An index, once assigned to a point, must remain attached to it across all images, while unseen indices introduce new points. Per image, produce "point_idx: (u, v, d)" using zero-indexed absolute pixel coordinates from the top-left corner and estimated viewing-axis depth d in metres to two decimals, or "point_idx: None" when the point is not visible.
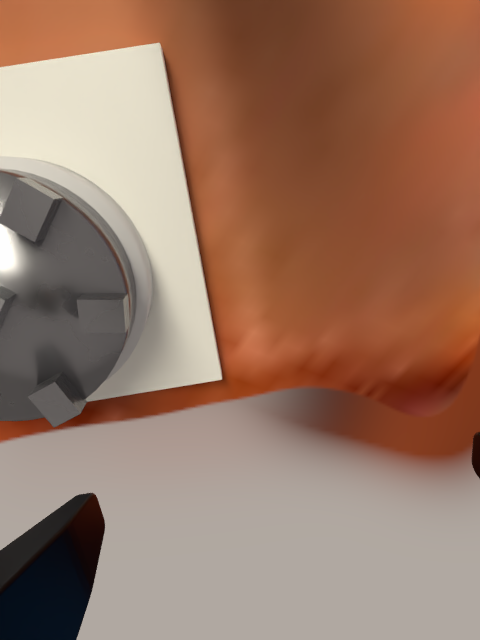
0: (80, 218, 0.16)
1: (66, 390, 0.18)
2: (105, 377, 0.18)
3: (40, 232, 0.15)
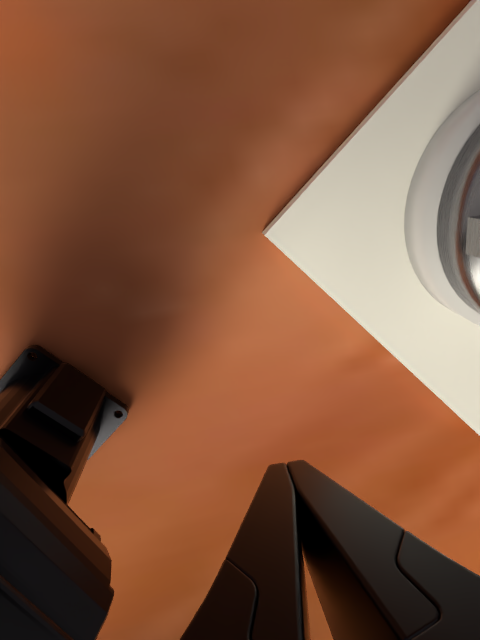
0: (479, 191, 0.15)
1: None
2: None
3: None
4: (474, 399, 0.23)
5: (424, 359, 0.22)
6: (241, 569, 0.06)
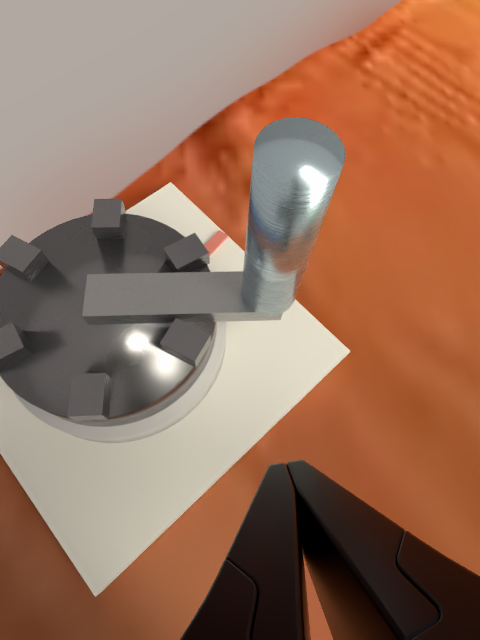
0: (55, 412, 0.18)
1: (14, 269, 0.20)
2: None
3: None
4: (307, 360, 0.24)
5: (257, 414, 0.22)
6: (241, 569, 0.06)
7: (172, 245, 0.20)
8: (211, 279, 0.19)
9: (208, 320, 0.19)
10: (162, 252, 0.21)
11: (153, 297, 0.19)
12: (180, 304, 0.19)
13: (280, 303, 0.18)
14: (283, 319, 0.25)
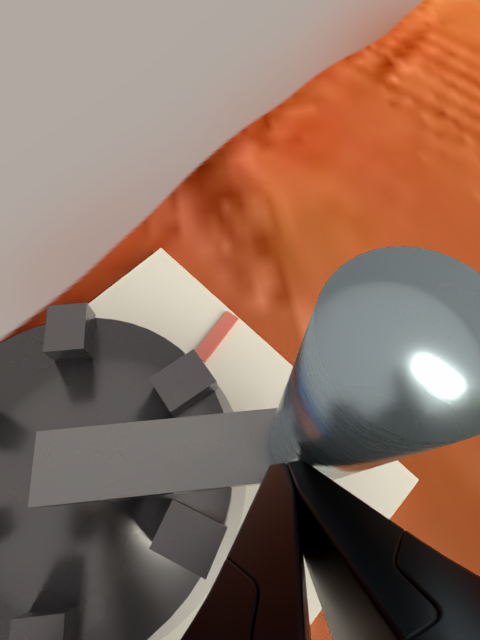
0: None
1: None
2: None
3: (12, 635, 0.11)
4: (360, 498, 0.17)
5: None
6: (242, 569, 0.06)
7: (161, 371, 0.14)
8: (222, 426, 0.13)
9: (222, 488, 0.13)
10: (149, 376, 0.15)
11: (136, 465, 0.12)
12: (178, 474, 0.12)
13: None
14: None
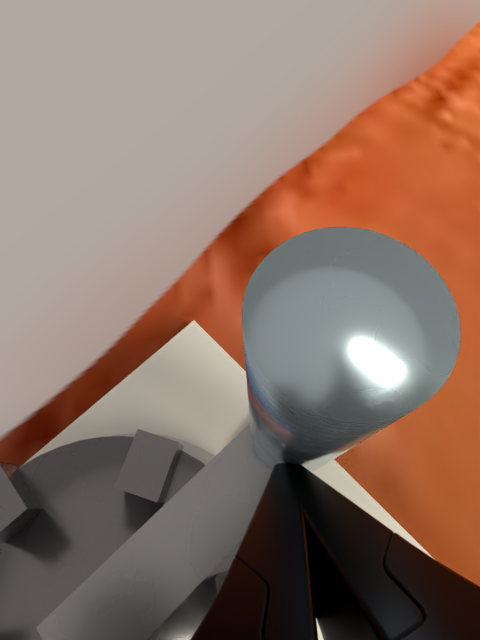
0: None
1: None
2: None
3: None
4: None
5: None
6: (251, 567, 0.06)
7: (121, 471, 0.12)
8: (212, 477, 0.12)
9: None
10: (111, 483, 0.13)
11: (160, 575, 0.11)
12: (204, 552, 0.11)
13: None
14: None
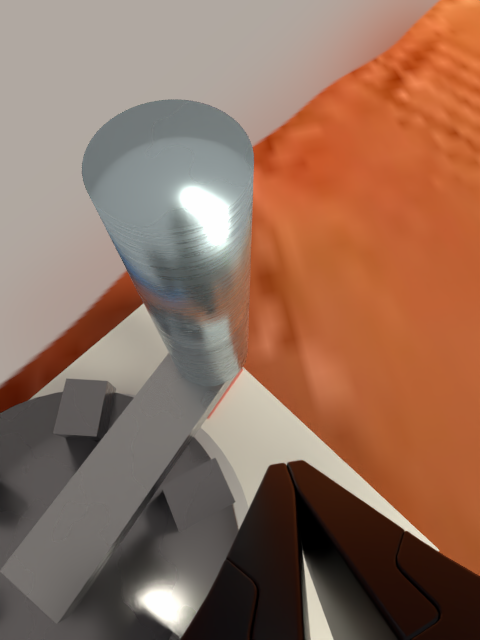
0: None
1: None
2: None
3: None
4: None
5: None
6: (241, 569, 0.06)
7: (57, 418, 0.13)
8: (144, 403, 0.13)
9: (188, 443, 0.13)
10: (52, 435, 0.14)
11: (110, 496, 0.12)
12: (147, 466, 0.12)
13: (245, 349, 0.13)
14: None
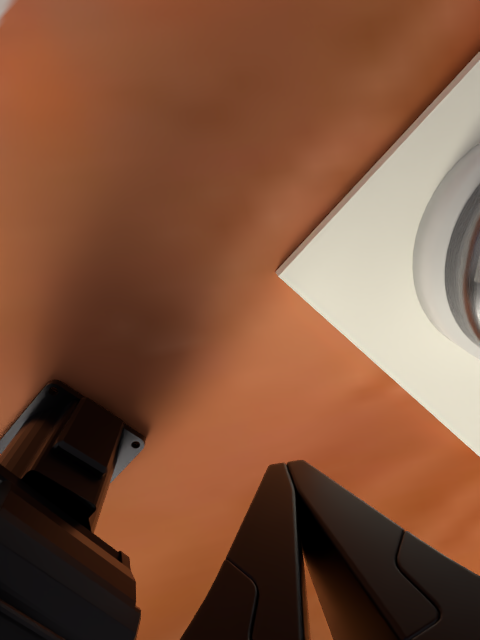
0: None
1: None
2: None
3: None
4: None
5: (431, 390, 0.23)
6: (241, 569, 0.06)
7: None
8: None
9: None
10: None
11: None
12: None
13: None
14: None
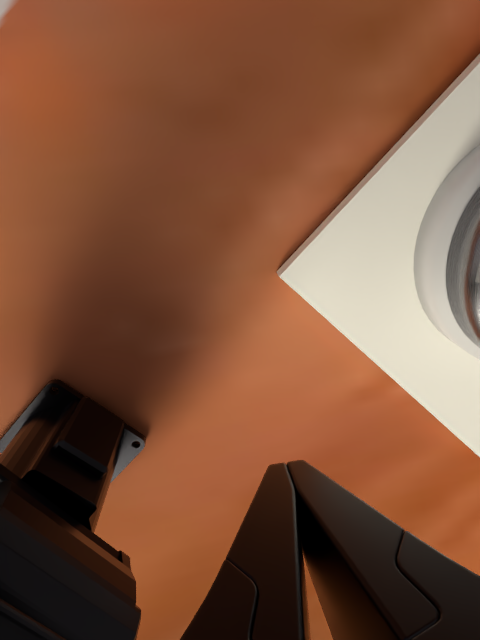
0: None
1: None
2: None
3: None
4: None
5: (432, 391, 0.23)
6: (241, 569, 0.06)
7: None
8: None
9: None
10: None
11: None
12: None
13: None
14: None
